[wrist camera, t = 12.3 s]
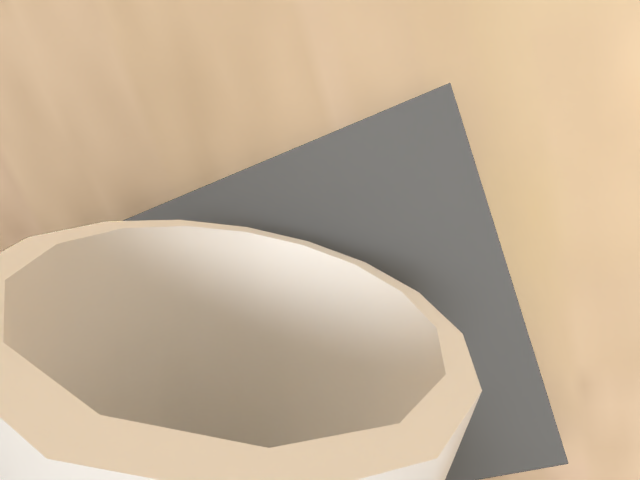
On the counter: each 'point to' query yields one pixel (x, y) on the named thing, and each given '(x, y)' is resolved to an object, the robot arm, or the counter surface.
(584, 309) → the counter surface
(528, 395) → the mat
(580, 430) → the counter surface
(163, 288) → the foam cup
